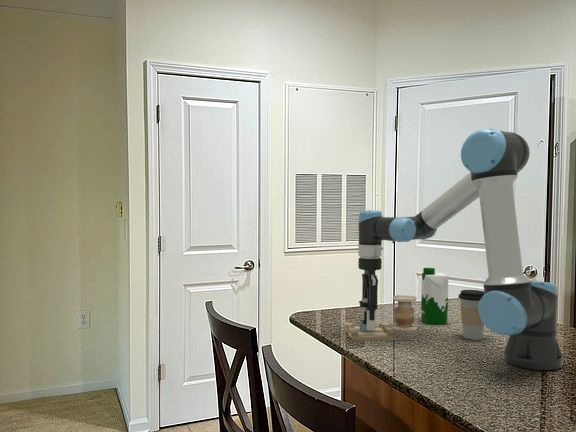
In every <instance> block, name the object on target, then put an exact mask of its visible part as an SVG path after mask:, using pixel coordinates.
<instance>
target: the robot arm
mask: <svg viewBox="0 0 576 432" xmlns="http://www.w3.org/2000/svg"><path fill="white" fill-rule="evenodd" d="M460 159H461V163H462V164H463V167H465V168H466V169H467V171H469V172H468V174H466V175H465V176H464V177H462V178H461V179H459V180H458V181H457V182H456V183H455V184H454V185H452V186H451V187H449V189H447V190H446V191H444V193H442V194H440V195H439V197H438V198H435V200H434V201H432V202H431V203H429V204H428V205H427V206H425V208H423V209H422V210H421V211H419V213H417V214H416V215H414V216H396V217H394V216H393V217H392V216H387V217H386V216H383V212H382V211H381V210H372V209H371V210H361V211H359V214H358V224H357V225H358V246H357V247H358V248H357V249H358V253H357V254H358V256H359V258H358V259H357V260H358V261H357V263H358V264H357V265H358V266H357V267H358V269H360V270H362V271H364V273H362V274H361V278H362V280H361V281H362V285H361V286H362V290H361V291H362V293H361V294H362V296H361V299H362V298H367V299H368V308H366V310H367V330H375V326H376V325H375V324H376V320H377V319H376V317H377V316H376V313H377V312H376V310H378V285H379V279H378V276H377V275H376V271H380V270H381V269H382V263H383V262H382V258H381V257H382V251H383V250H384V247H383V246H382V242H383V241H388V242H389V241H390V242H397V243H405V242H406V243H408V242H410V241H412V240H427V239H431V238H433V236H434V237H435V235H436V233H437V230H438V229H439V228H440V227H441V226H443V225H444V224H445V223H446V222H448V221H450V220H451V219H452V218H453V217H455V216H456V215H457V214H458V213H460V212H462V211H463V210H464V209H465V208H467V207H468V206H470V204H472V203H473V202H474V201H476V200H478V199H479V203H480V213H481V221H482V230H483V239H484V240H483V241H484V248H485V249H484V250H485V256H486V257H485V258H486V264H487V265H486V266H487V275H488V277H487V278H486V279H485V280H484V282H483V291H484V295H483V297H482V299H481V300H480V302H479V306H478V311H479V316H480V318H481V320H482V322H483V323H484V327H486V328H488V329H489V331H491V332H492V333H495V334H497V335H499V336H508V339H507V342H506V344H505V348H504V350H503V361H504V362H506V363H508V364H509V365H512V366H514V367H518V368H522V369H527V370H528V369H529V370H534V371H535V370H537V371H552V370H553V371H555V370H558V369H561V368H562V367H563V365H564V364H563V363H564V361H563V359H564V358H563V354H562V351H561V349H560V346H559V342H558V339H557V322H558V319H557V315H558V298H559V295H558V288H557V285H556V284H555V283H553V282H546V281H538V280H530V279H529V278H528V277H527V276H525V274H524V271H523V264H522V262H523V261H522V255H521V246H520V238H519V227H518V222H517V210H516V204H515V195H514V187H513V184H514V182H515V181H516V180H517V178H518V176H519V175H518V174H519V173H520V172H521V171H522V170H524V168H525V166H526V165H527V164H528V162H529V159H530V147H529V144H528V142H527V141H526V139H525V138H524V137H523V136H521V135H520V134H517V133H516V132H512V131H503V130H498V129H495V128H482V129H479V130H476V131H474V132H472V133H470V135H468V136H467V138H466V139H465V141H464V142H463V143H462V145H461V150H460ZM364 311H365V309H364Z"/></svg>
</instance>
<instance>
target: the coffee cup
mask: <svg viewBox="0 0 576 432" xmlns="http://www.w3.org/2000/svg"><path fill="white" fill-rule="evenodd" d="M483 295H484V290H479V289H462V290H461V291H460V293H459V294H458V297H457V298H459V299H460V300H459V301H460V315H461V316H460V317H461V323H462V334H463V338H464V339H467V340H472V341H480V340H483V335H484V328H485V325H484V323H483V322H482V320H481V318H480V316H479V311H478V306H479V302H480V300H481V299H482V297H483Z"/></svg>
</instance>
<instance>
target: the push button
mask: <svg viewBox="0 0 576 432" xmlns="http://www.w3.org/2000/svg"><path fill="white" fill-rule="evenodd" d="M358 304H359V307H360V308H361V318H360V320H359V326H360V329H364V330H367V310H366V308H368V299H367V298H362V297H361V300H360V301H358ZM364 309H365V311H364ZM375 326H377V324H376V323H375ZM375 328H379V327H375Z"/></svg>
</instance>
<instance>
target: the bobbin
mask: <svg viewBox="0 0 576 432" xmlns="http://www.w3.org/2000/svg"><path fill="white" fill-rule="evenodd" d="M392 300H393V301H395V302H397V306H396V307H395V308H394V323H391V325H390V327H391V328H392V329H393V330H394V331H400V332H401V331H402V332H414V331H417V330H418V325H417V324H415V323H414V322H415V309H414V307H412V303H414V302H416V301H417V297H416V296H415V295H409V294H395V295H393V296H392Z"/></svg>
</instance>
